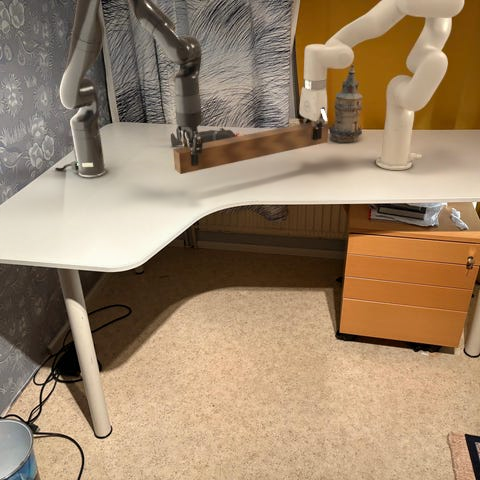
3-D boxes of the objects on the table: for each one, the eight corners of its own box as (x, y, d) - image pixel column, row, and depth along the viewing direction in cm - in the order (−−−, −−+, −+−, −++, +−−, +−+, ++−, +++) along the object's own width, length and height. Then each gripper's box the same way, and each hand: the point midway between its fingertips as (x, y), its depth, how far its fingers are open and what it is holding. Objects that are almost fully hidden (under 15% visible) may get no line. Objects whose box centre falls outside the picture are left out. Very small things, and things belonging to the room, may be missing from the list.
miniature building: (330, 144, 216) (335, 67, 201) (326, 133, 228) (331, 60, 213) (363, 144, 215) (371, 67, 200) (358, 133, 227) (365, 60, 212)
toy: (183, 121, 228) (252, 121, 222) (184, 135, 231) (252, 135, 225) (163, 141, 206) (239, 141, 200) (165, 156, 209) (240, 157, 203)
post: (319, 138, 191) (320, 120, 188) (327, 142, 187) (328, 123, 184) (174, 169, 168) (173, 148, 164) (180, 174, 164) (179, 153, 161)
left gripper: (167, 104, 162) (171, 157, 171) (186, 116, 151) (190, 172, 160) (189, 101, 165) (192, 153, 174) (210, 112, 154) (212, 167, 163)
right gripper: (291, 80, 182) (289, 132, 191) (321, 91, 169) (318, 146, 178) (309, 77, 185) (307, 129, 194) (340, 87, 172) (336, 142, 181)
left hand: (191, 162), depth 167 cm, fingers closed on post, 4 cm apart
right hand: (312, 136), depth 186 cm, fingers closed on post, 4 cm apart
